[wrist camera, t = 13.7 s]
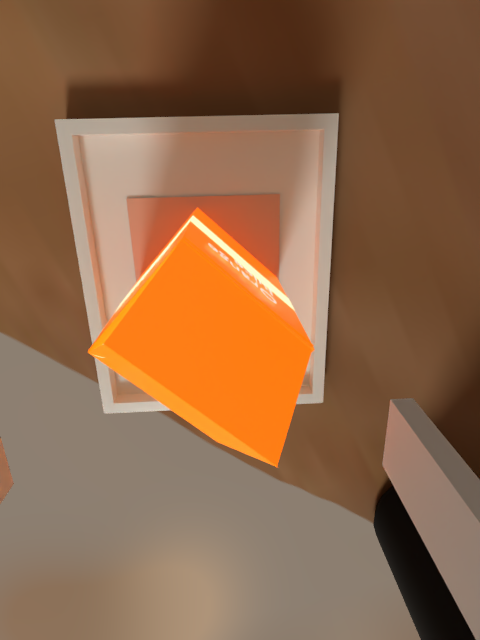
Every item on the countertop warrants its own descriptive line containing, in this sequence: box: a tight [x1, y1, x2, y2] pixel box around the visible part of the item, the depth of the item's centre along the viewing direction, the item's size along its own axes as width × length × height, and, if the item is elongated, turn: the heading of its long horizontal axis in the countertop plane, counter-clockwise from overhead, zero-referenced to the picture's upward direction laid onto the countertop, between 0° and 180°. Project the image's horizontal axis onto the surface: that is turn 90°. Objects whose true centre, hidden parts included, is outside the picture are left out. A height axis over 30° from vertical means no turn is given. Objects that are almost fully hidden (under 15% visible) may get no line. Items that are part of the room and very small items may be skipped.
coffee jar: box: [374, 486, 476, 640], centre depth 38 cm, size 11×11×18 cm
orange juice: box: [88, 207, 315, 468], centre depth 25 cm, size 8×9×20 cm
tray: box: [55, 113, 339, 413], centre depth 34 cm, size 24×20×2 cm
